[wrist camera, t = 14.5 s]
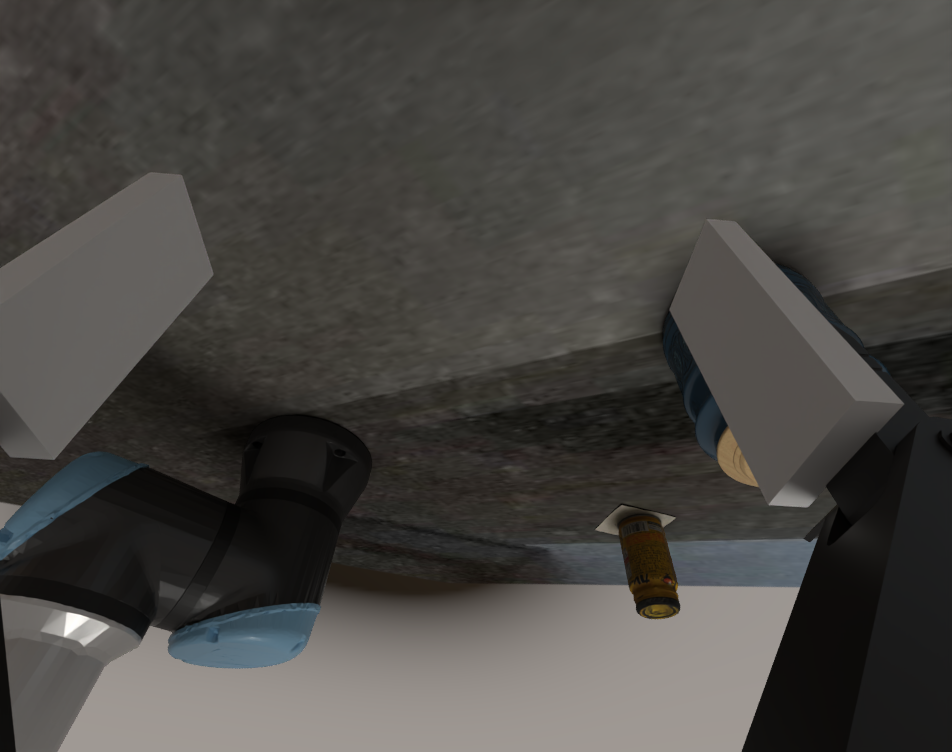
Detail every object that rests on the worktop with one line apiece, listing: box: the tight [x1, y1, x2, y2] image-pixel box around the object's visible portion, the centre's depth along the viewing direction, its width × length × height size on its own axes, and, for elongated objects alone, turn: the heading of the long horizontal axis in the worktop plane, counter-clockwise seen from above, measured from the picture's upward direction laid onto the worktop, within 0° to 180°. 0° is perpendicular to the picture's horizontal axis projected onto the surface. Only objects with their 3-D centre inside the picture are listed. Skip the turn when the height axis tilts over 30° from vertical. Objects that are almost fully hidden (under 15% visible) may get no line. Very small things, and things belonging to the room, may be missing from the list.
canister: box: [663, 264, 890, 487], centre depth 38 cm, size 13×13×18 cm
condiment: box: [595, 505, 680, 619], centre depth 63 cm, size 7×8×12 cm
